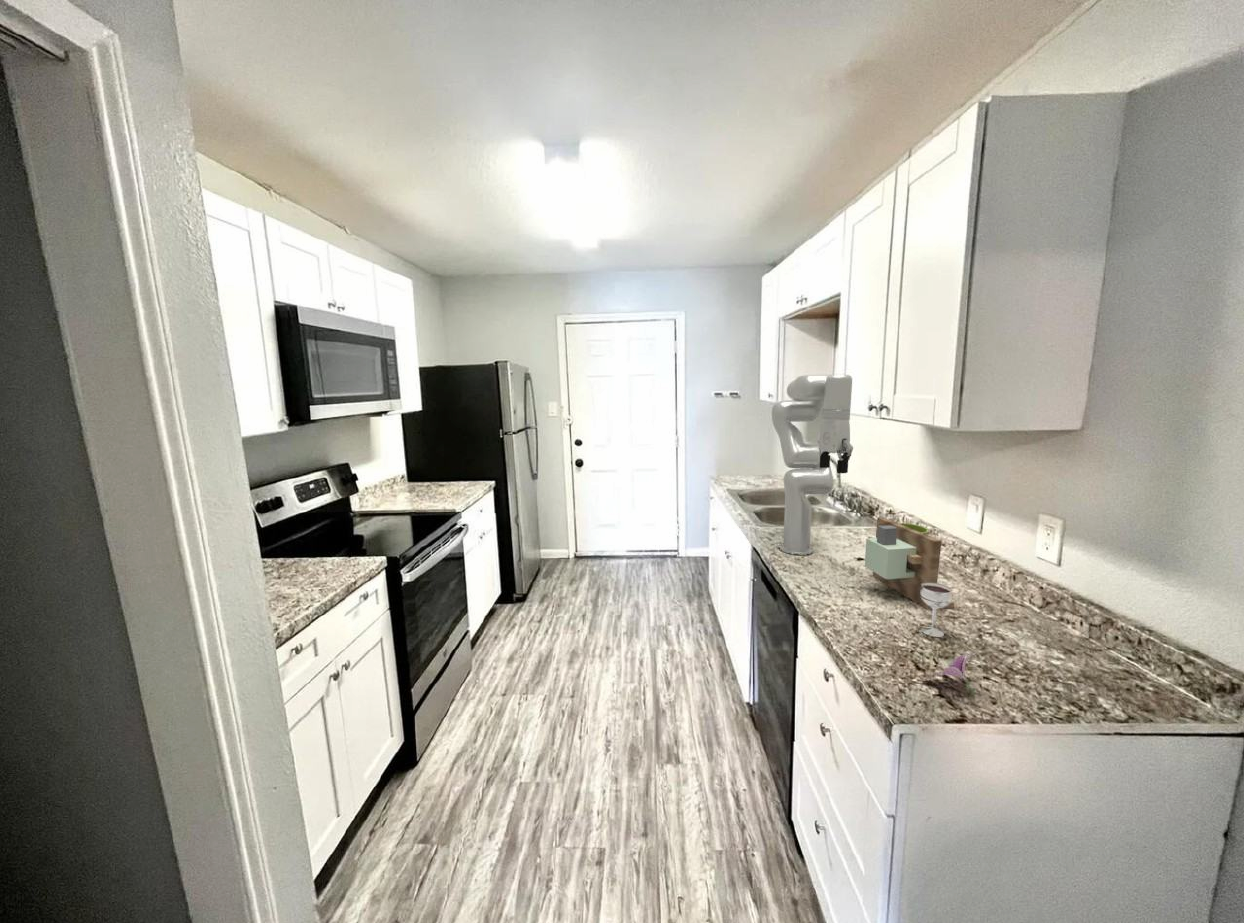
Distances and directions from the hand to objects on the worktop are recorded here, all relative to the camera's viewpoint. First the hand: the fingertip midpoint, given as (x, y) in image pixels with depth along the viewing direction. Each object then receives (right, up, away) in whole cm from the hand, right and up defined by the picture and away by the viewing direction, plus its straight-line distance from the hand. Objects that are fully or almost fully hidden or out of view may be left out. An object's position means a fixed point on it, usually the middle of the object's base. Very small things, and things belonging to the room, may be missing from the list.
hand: (833, 470), depth 146 cm
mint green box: (+14, -30, -6) cm, 34 cm away
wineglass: (+13, -41, -27) cm, 51 cm away
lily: (+3, -45, -48) cm, 66 cm away
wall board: (+21, -37, -3) cm, 43 cm away
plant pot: (+38, -33, +25) cm, 56 cm away
